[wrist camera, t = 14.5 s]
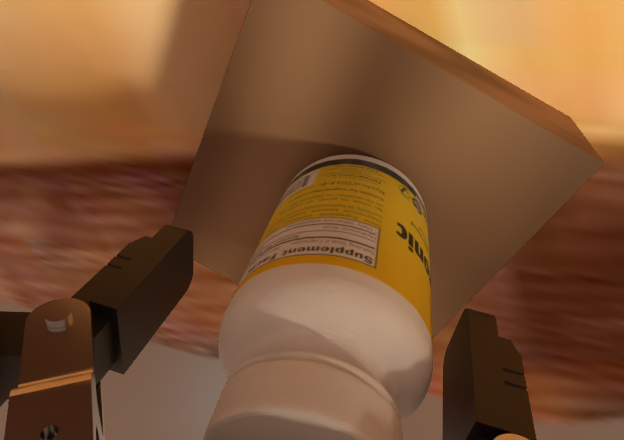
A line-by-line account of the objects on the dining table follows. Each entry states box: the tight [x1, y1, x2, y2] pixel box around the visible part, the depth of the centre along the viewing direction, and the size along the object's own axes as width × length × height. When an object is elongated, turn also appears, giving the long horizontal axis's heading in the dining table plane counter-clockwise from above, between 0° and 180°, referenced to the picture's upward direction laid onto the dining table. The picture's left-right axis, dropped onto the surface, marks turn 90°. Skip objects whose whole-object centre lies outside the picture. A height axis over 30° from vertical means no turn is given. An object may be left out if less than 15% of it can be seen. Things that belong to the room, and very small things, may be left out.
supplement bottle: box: [204, 155, 433, 440], centre depth 13 cm, size 5×5×10 cm
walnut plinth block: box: [171, 0, 604, 338], centre depth 19 cm, size 12×12×5 cm
